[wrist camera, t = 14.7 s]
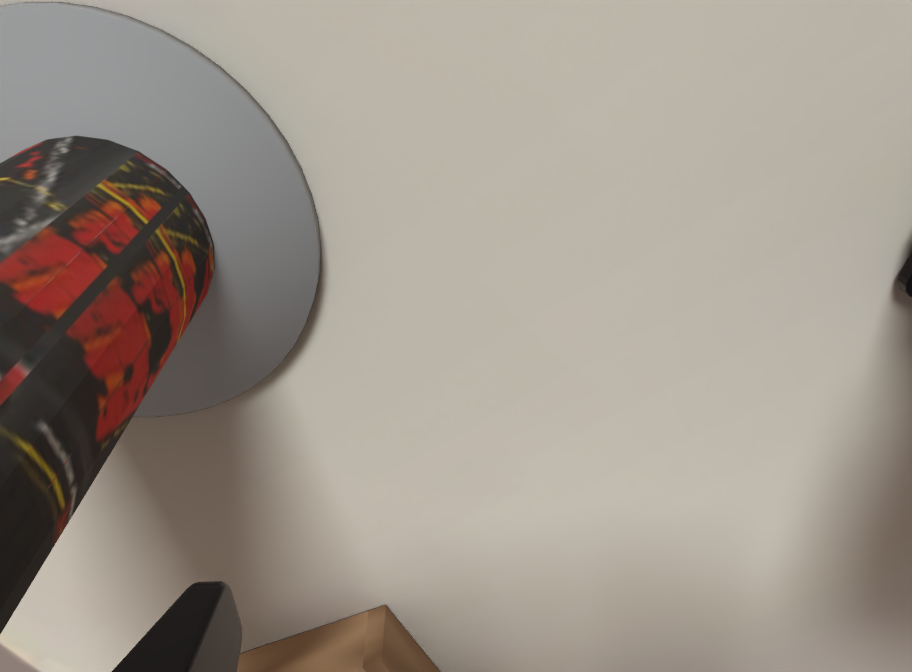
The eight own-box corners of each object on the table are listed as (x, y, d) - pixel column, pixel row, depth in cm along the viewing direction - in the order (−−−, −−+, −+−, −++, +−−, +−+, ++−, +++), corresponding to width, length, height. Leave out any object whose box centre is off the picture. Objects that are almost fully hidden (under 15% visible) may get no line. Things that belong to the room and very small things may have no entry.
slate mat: (344, 58, 18) (341, 62, 17) (302, 430, 24) (298, 441, 23) (-177, -50, 16) (-197, -48, 16) (-81, 374, 22) (-94, 385, 22)
